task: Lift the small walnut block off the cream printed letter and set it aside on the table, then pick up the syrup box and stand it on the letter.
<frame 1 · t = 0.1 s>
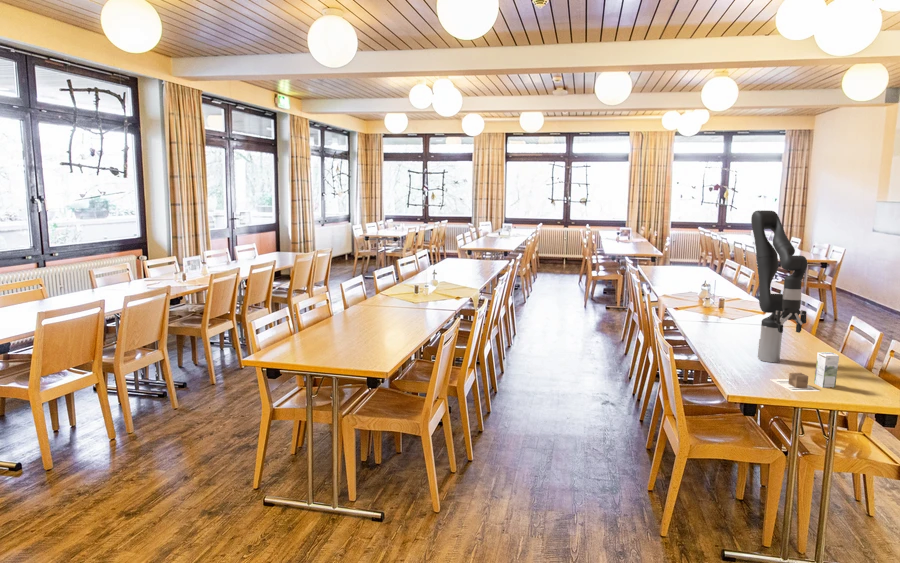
hand: (789, 332, 273), 17 cm above the table, tool pointing down, fingers open, 8 cm apart
syrup box: (824, 386, 250), on the table
walnut block: (797, 385, 249), resting on letter
letter: (793, 385, 250), on the table
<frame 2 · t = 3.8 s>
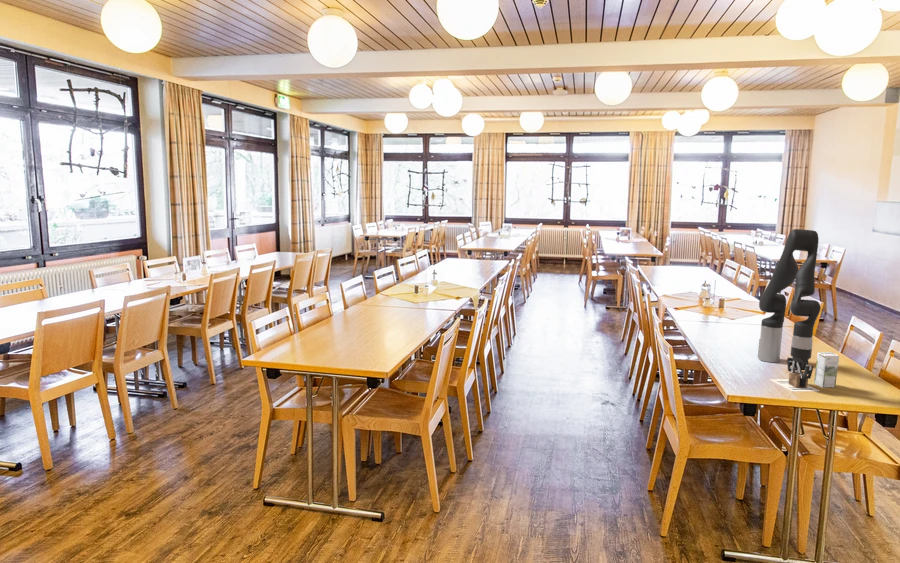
hand: (797, 384, 249), 1 cm above the table, tool pointing down, fingers closed on walnut block, 5 cm apart
walnut block: (797, 385, 249), resting on letter, touching gripper
everything else where it was.
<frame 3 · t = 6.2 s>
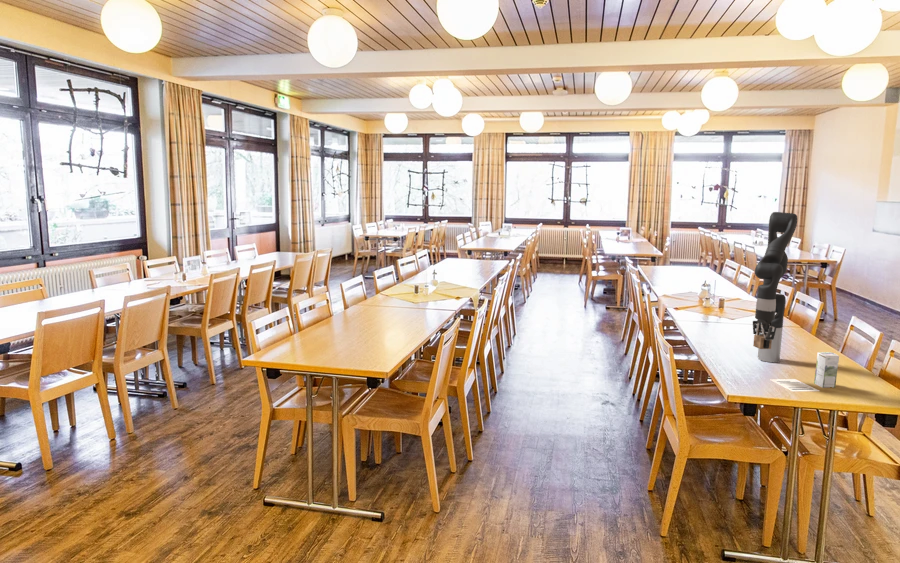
hand: (762, 346, 256), 15 cm above the table, tool pointing down, fingers closed on walnut block, 5 cm apart
walnut block: (762, 347, 256), point 15 cm above the table, touching gripper
everything else where it was.
when the fingers open (2 cm above the table, at t = 9.0 s): walnut block drops 2 cm, on the table.
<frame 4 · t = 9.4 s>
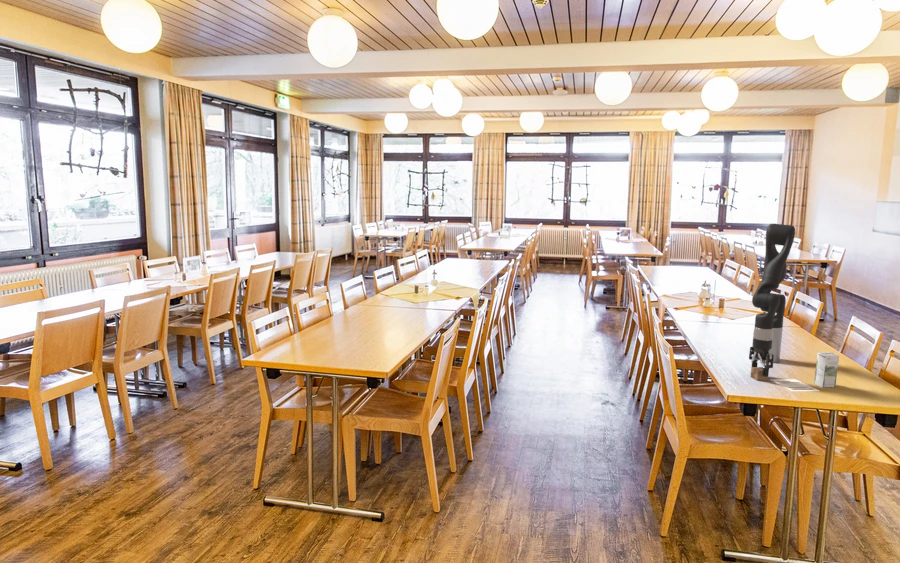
hand: (759, 373, 258), 3 cm above the table, tool pointing down, fingers open, 8 cm apart
walnut block: (759, 379, 258), on the table
everything else where it was.
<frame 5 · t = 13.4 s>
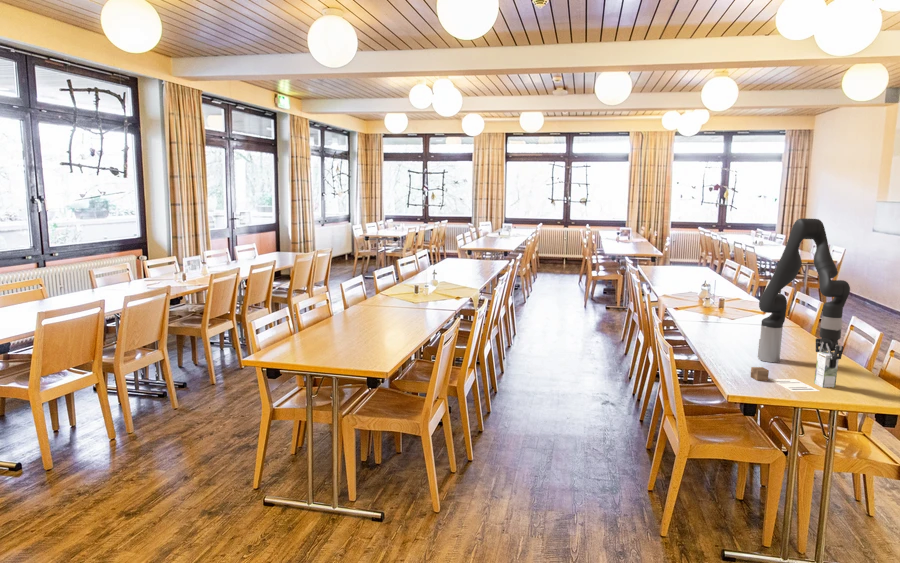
hand: (826, 365, 248), 9 cm above the table, tool pointing down, fingers closed on syrup box, 6 cm apart
syrup box: (824, 386, 250), on the table, touching gripper
everything else where it was.
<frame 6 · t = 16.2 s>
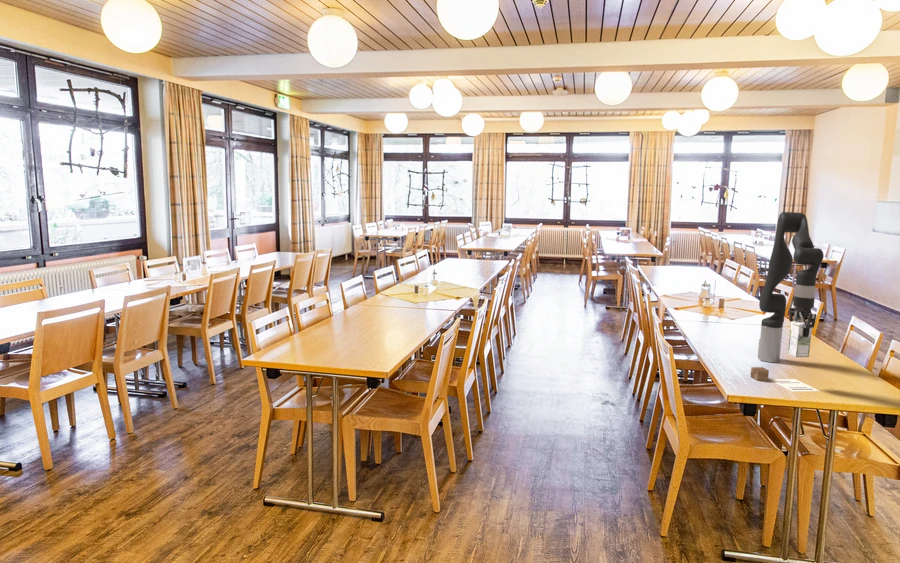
hand: (800, 334, 246), 23 cm above the table, tool pointing down, fingers closed on syrup box, 6 cm apart
syrup box: (798, 356, 247), point 13 cm above the table, touching gripper
everything else where it was.
when the fingers open (10 cm above the table, at t = 18.9 s): syrup box stays where it is, resting on letter.
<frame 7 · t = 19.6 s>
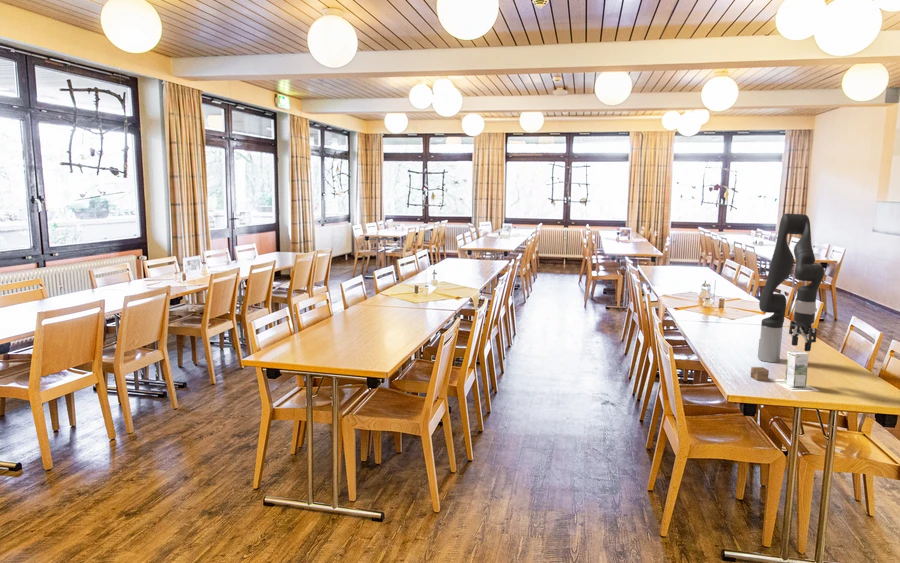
hand: (800, 348, 249), 16 cm above the table, tool pointing down, fingers open, 8 cm apart
syrup box: (795, 385, 249), resting on letter
everything else where it was.
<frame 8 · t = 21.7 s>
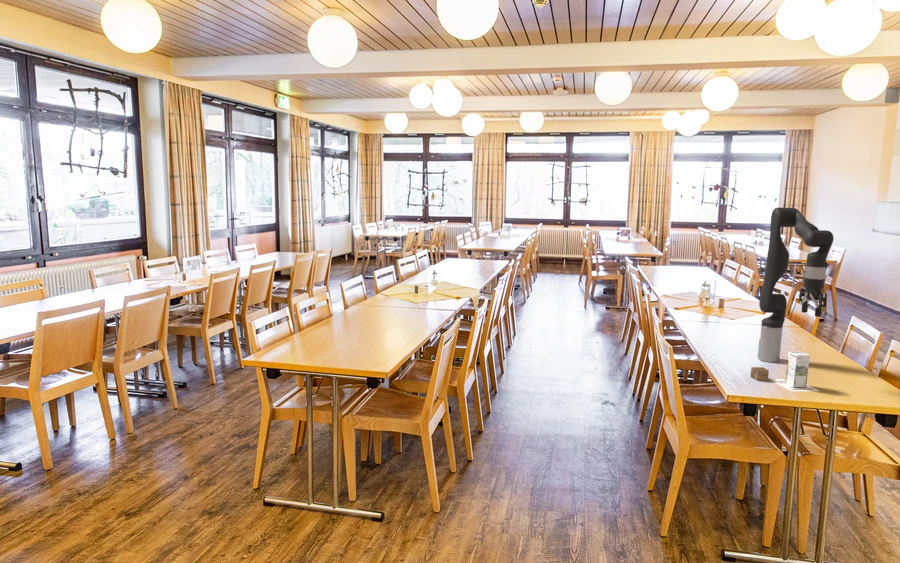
hand: (810, 314, 251), 30 cm above the table, tool pointing down, fingers open, 8 cm apart
nothing on the table moved.
at the end: syrup box inside the target area on the letter (1.1 cm from its centre), point 0.1 cm above the letter's base; syrup box tilted 0°; walnut block touching table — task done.
